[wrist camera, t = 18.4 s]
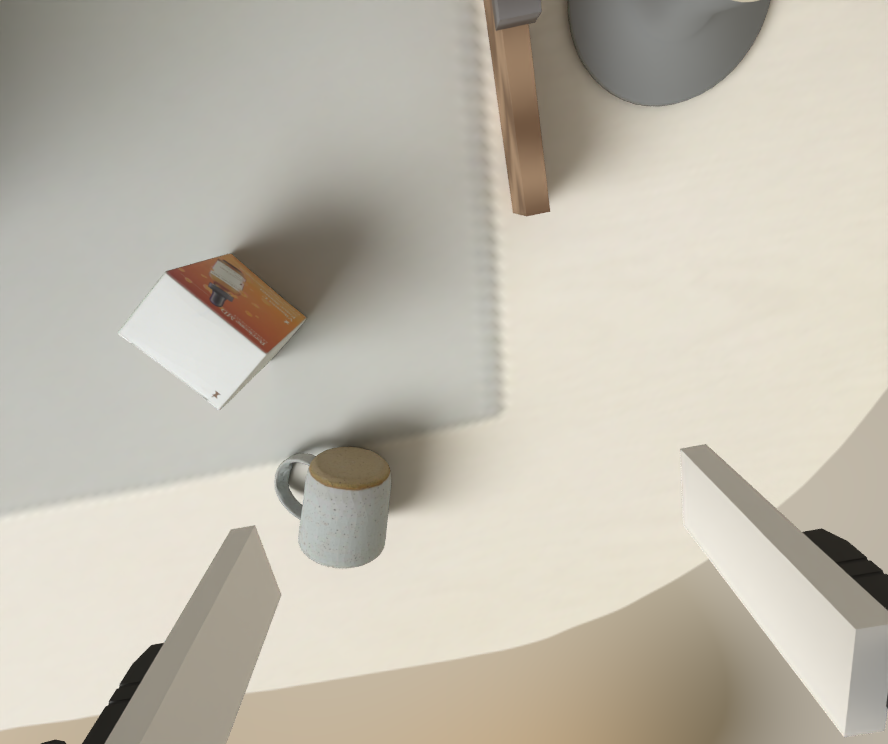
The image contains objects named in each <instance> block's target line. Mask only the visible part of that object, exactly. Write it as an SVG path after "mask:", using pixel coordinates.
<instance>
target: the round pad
mask: <svg viewBox="0 0 888 744" xmlns="http://www.w3.org/2000/svg"><path fill="white" fill-rule="evenodd" d="M770 1H771V0H761V1H758V2H755V3H752V4H749V5H746V6H742V7H738V8H735V9H731V10H727V11H723V12H719V13H716V14H715V15H714V16H713V17H712V18H711V19H710V20H709V22H708V23H707V24H706V25H705V26H704V27H703V28H702V29H700V30H699V31H698V32H697V33H695V34H694V35H692V36H691V37H689V38H687V39H684V40H681V41H678V42H662V41H658V40H655V39H653V38H652V37H650V36H649V35H647V34H646V33H645V32H644V31H643V30H642V29H641V27H640V26H639V24H638V22H637V20H636V18H635V16H634V12H633V8H632V0H568V17H569V24H570V30H571V34H572V38H573V41H574V45H575V47H576V50H577V52H578V54H579V57H580V59H581V60H582V62H583V64H584V66H585V67H586V69H587V70H588V72H589V73H590V74H591V76H592V77H593V78H594V79H595V80H596V81H597V82H598V83H599V84H600V85H601V86H602V87H603V88H604V89H606V90H607V91H608V92H610V93H611V94H613V95H614V96H616V97H618V98H620V99H622V100H624V101H627V102H630V103H633V104H638V105H644V106H665V105H672V104H676V103H679V102H683V101H686V100H689V99H691V98H693V97H696V96H698V95H700V94H702V93H704V92H705V91H707V90H709V89H711V88H712V87H714V86H715V85H716V84H717V83H719V82H720V81H721V80H723V79H724V78H725V77H726V76H727V75H728V74H729V73H730V72H731V71H732V70H733V69H734V68H735V67H736V66H737V65H738V64H739V62H740V61H741V60H742V59H743V58H744V56H745V55H746V53H747V52H748V50H749V49H750V47H751V46H752V45H753V43H754V41H755V39H756V37H757V35H758V33H759V31H760V29H761V27H762V24H763V22H764V20H765V17H766V14H767V11H768V7H769V4H770Z"/></svg>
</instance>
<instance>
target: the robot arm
mask: <svg viewBox="0 0 888 744" xmlns="http://www.w3.org/2000/svg"><path fill="white" fill-rule="evenodd" d="M680 456H681V482H682V508H683V525H684V527H685V528H686V529H687V531H688V532H689V533H690V535H691V536H692V537H693V539H694V540H695V541H696V543H697V544H698V545H699V546H700V548H701V549H702V550H703V552H704V553H705V554H706V556H707V557H708V558H709V560H710V561H711V562H712V563H713V565H714V566H715V568H716V569H717V570H718V572H719V573H720V574H721V575H722V577H723V578H724V579H725V581H726V582H727V583H728V585H729V586H730V587H731V589H732V590H733V591H734V593H735V594H736V595H737V596H738V598H739V599H740V600H741V602H742V603H743V604H744V606H745V607H746V608H747V610H748V611H749V612H750V614H751V615H752V616H753V618H754V619H755V620H756V621H757V623H758V624H759V626H760V627H761V628H762V630H763V631H764V632H765V633H766V635H767V636H768V637H769V639H770V640H771V641H772V643H773V644H774V645H775V647H776V648H777V649H778V651H779V652H780V653H781V655H782V656H783V657H784V658H785V660H786V661H787V662H788V664H789V665H790V666H791V668H792V669H793V670H794V672H795V673H796V674H797V676H798V677H799V678H800V680H801V681H802V682H803V684H804V685H805V686H806V687H807V689H808V690H809V691H810V693H811V694H812V695H813V697H814V698H815V699H816V701H817V702H818V703H819V705H820V706H821V707H822V709H823V710H824V711H825V712H826V714H827V715H828V716H829V718H830V719H831V720H832V722H833V723H834V724H835V726H836V727H837V728H838V730H839V731H840V732H841V734H842V735H843V736H844V737H849V736H856V735H863V734H869V733H875V732H882V731H885V725H886V718H887V711H888V575H887V574H884V573H883V571H882V570H881V569H880V568H879V567H878V566H877V565H875V564H874V563H873V562H872V561H868V560H867V557H866V556H864V555H863V554H862V553H861V552H860V551H859V550H857V549H856V548H855V547H854V546H853V545H851V544H850V543H849V542H848V541H846V540H844V539H842V538H840V537H838V536H836V535H834V534H832V533H830V532H828V531H826V530H824V529H817V530H811V531H805V532H801V531H800V530H799V529H798V528H797V527H796V526H794V524H793V523H791V522H790V521H789V520H788V519H787V518H786V517H785V516H784V515H783V514H782V513H781V512H779V511H778V510H777V509H776V508H775V507H774V506H773V505H772V504H771V503H770V502H768V501H767V500H766V499H765V498H764V497H763V496H762V495H761V494H760V493H759V492H758V491H756V490H755V489H754V488H753V487H752V486H751V485H750V484H749V483H748V482H747V481H746V480H744V479H743V478H742V477H741V476H740V475H739V474H738V473H737V472H736V471H735V470H734V469H732V468H731V467H730V466H729V465H728V464H727V463H726V462H725V461H724V460H723V459H722V458H720V457H719V456H718V455H717V454H716V453H715V452H714V451H713V450H712V449H711V448H710V447H708V446H707V445H706V444H705V445H699V446H693V447H688V448H682V449H680ZM280 597H281V593H280V590H279V587H278V585H277V582H276V579H275V577H274V574H273V572H272V569H271V566H270V564H269V561H268V558H267V556H266V553H265V551H264V548H263V545H262V543H261V540H260V537H259V535H258V532H257V529H256V527H255V525H254V526H249V527H243V528H238V529H232V530H231V531H230V532H229V534H228V536H227V537H226V539H225V541H224V542H223V544H222V546H221V548H220V549H219V551H218V553H217V554H216V556H215V558H214V559H213V561H212V563H211V564H210V566H209V568H208V570H207V571H206V573H205V575H204V576H203V578H202V580H201V581H200V583H199V585H198V586H197V588H196V590H195V592H194V593H193V595H192V597H191V598H190V600H189V602H188V603H187V605H186V607H185V608H184V610H183V612H182V614H181V615H180V617H179V619H178V620H177V622H176V624H175V625H174V627H173V629H172V630H171V632H170V634H169V636H168V637H167V639H166V641H165V642H164V643H161V644H155V645H151V646H150V647H149V648H148V649H147V650H146V651H145V652H144V653H143V654H142V655H141V656H140V657H139V658H138V659H137V660H136V661H135V662H134V663H133V664H132V666H131V667H130V669H129V670H128V672H127V674H126V675H125V677H124V678H123V680H122V681H121V683H120V685H119V686H120V687H119V689H116V691H115V693H114V694H113V696H112V697H111V699H110V700H109V705H108V706H106V707H105V708H104V710H103V712H102V713H101V715H100V716H99V718H98V720H97V721H96V723H95V724H94V726H93V727H92V729H91V731H90V732H89V734H88V735H87V737H86V739H85V740H84V742H83V743H82V744H226V743H227V740H228V737H229V735H230V732H231V729H232V727H233V723H234V721H235V718H236V716H237V713H238V710H239V708H240V705H241V702H242V700H243V697H244V694H245V692H246V689H247V686H248V683H249V681H250V678H251V675H252V673H253V670H254V667H255V665H256V662H257V659H258V656H259V654H260V651H261V648H262V646H263V643H264V640H265V638H266V635H267V632H268V630H269V627H270V624H271V621H272V619H273V616H274V613H275V611H276V608H277V605H278V603H279V600H280ZM41 744H66V743H65V742H64V741H60V740H52V741H48V742H44V743H41Z"/></svg>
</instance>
